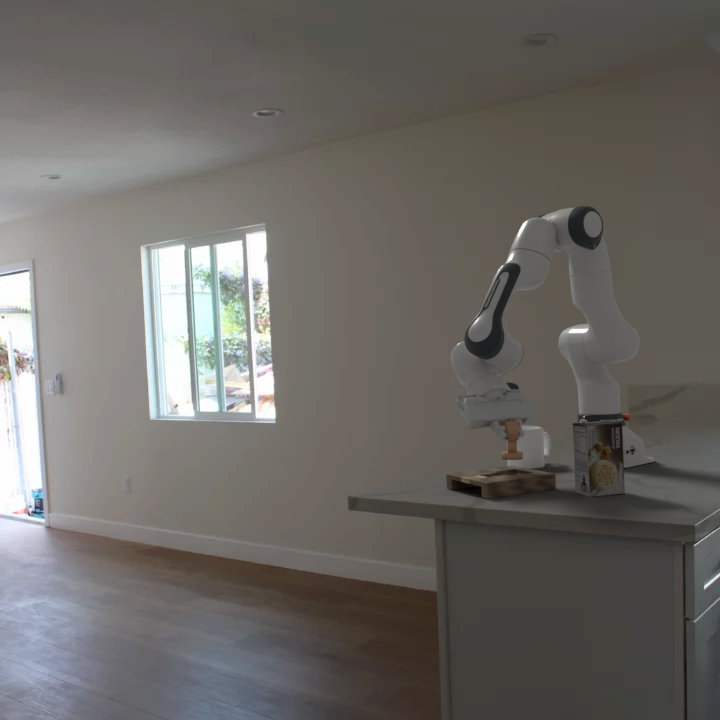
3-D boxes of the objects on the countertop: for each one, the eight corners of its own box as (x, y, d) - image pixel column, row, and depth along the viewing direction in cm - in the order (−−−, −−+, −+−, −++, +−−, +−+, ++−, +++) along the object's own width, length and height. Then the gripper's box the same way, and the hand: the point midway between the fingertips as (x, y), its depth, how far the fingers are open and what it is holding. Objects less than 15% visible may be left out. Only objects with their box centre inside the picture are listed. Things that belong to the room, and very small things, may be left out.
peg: (513, 456, 196) (513, 419, 196) (527, 458, 191) (526, 421, 191) (497, 458, 193) (496, 421, 193) (510, 460, 189) (509, 422, 189)
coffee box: (609, 489, 186) (607, 420, 185) (625, 494, 179) (623, 422, 179) (574, 492, 183) (572, 422, 183) (589, 497, 177) (587, 425, 177)
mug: (534, 460, 233) (533, 423, 232) (561, 464, 224) (559, 426, 224) (499, 465, 225) (498, 427, 225) (526, 469, 217) (525, 430, 216)
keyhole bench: (512, 479, 202) (512, 465, 202) (555, 488, 188) (555, 473, 188) (446, 488, 193) (446, 473, 193) (487, 498, 179) (486, 483, 179)
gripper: (458, 388, 193) (483, 431, 185) (525, 384, 203) (552, 425, 194) (448, 405, 197) (472, 449, 189) (514, 400, 207) (540, 442, 198)
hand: (513, 437), depth 192 cm, fingers closed on peg, 3 cm apart
